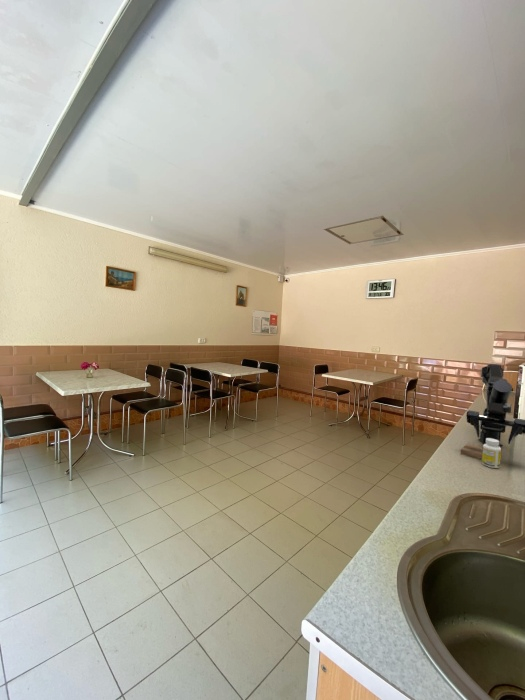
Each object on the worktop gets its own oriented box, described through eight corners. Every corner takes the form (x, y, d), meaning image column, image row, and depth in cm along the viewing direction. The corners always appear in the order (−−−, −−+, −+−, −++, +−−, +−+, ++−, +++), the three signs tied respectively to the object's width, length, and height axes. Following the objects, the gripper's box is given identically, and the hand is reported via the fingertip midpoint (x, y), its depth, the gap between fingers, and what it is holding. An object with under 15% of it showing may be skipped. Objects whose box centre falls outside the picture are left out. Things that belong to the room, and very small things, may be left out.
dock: (466, 447, 129) (467, 443, 128) (489, 453, 123) (490, 448, 123) (460, 453, 122) (461, 449, 122) (484, 460, 116) (485, 455, 116)
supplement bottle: (493, 462, 114) (495, 437, 114) (503, 469, 109) (505, 443, 108) (478, 461, 115) (480, 436, 114) (487, 468, 110) (489, 442, 109)
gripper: (468, 390, 122) (462, 423, 114) (530, 398, 109) (527, 435, 102) (470, 406, 128) (464, 437, 121) (528, 415, 116) (525, 451, 108)
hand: (493, 440), depth 113 cm, fingers open, 9 cm apart
